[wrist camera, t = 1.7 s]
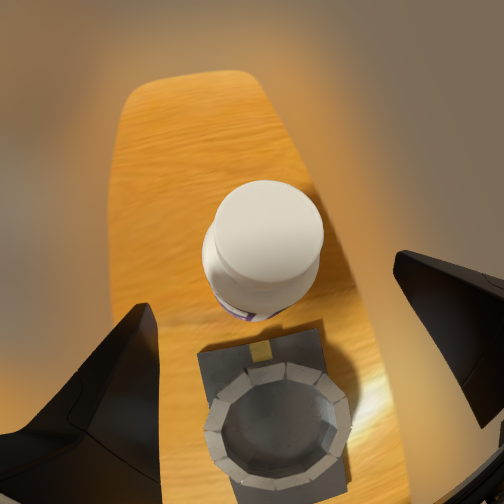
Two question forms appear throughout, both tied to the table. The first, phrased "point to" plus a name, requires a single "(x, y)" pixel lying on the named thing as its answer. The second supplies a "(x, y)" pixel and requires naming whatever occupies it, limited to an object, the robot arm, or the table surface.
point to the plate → (275, 418)
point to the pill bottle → (262, 249)
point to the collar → (266, 374)
